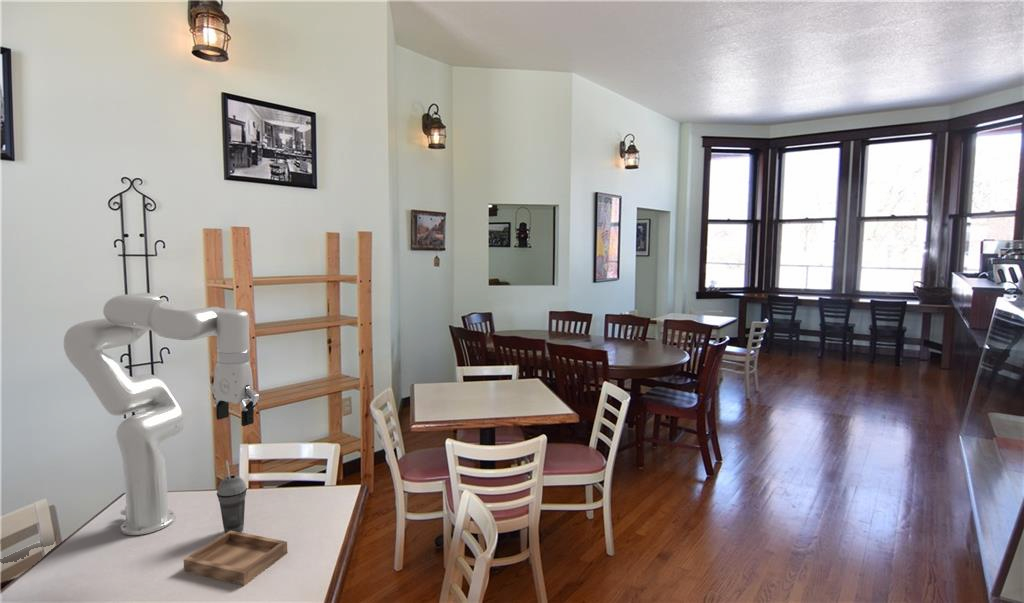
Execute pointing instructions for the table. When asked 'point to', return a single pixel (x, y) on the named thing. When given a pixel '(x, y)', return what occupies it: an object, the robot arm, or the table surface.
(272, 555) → the walnut tray
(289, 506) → the table surface
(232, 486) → the beverage cup
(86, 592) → the table surface
